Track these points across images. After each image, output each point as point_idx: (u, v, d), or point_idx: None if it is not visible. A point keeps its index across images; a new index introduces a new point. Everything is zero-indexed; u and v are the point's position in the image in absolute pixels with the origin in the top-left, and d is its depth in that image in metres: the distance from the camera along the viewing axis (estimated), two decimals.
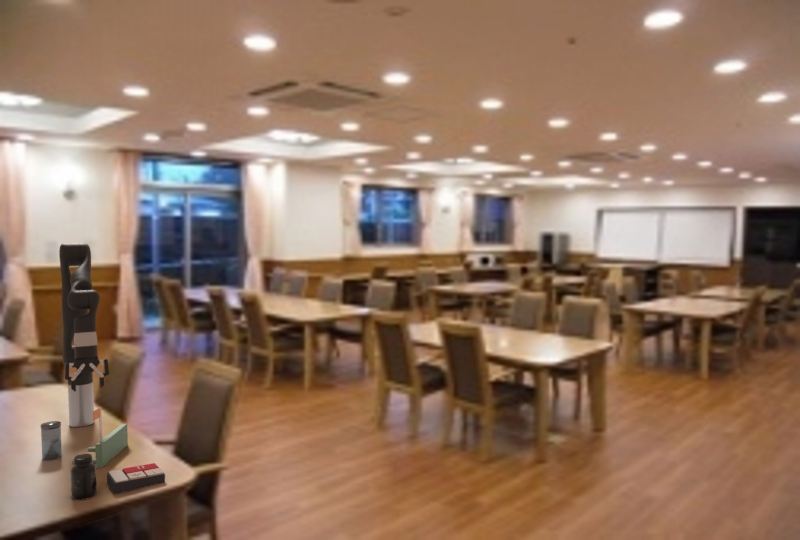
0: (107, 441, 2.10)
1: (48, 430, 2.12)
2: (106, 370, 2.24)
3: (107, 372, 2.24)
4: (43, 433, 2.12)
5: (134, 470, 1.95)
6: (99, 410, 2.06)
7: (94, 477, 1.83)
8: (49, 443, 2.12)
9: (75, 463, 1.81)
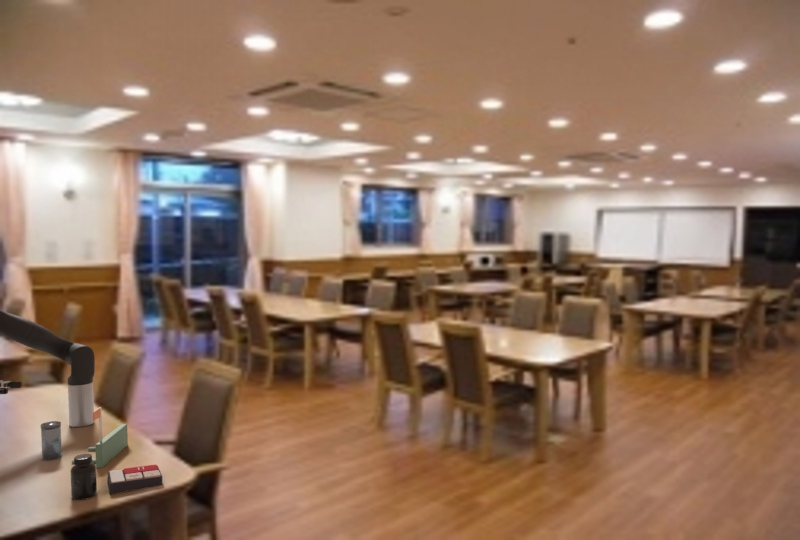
0: (107, 441, 2.10)
1: (48, 430, 2.12)
2: None
3: None
4: (43, 433, 2.12)
5: (133, 470, 1.94)
6: (99, 410, 2.06)
7: (94, 477, 1.83)
8: (49, 443, 2.12)
9: (75, 463, 1.81)
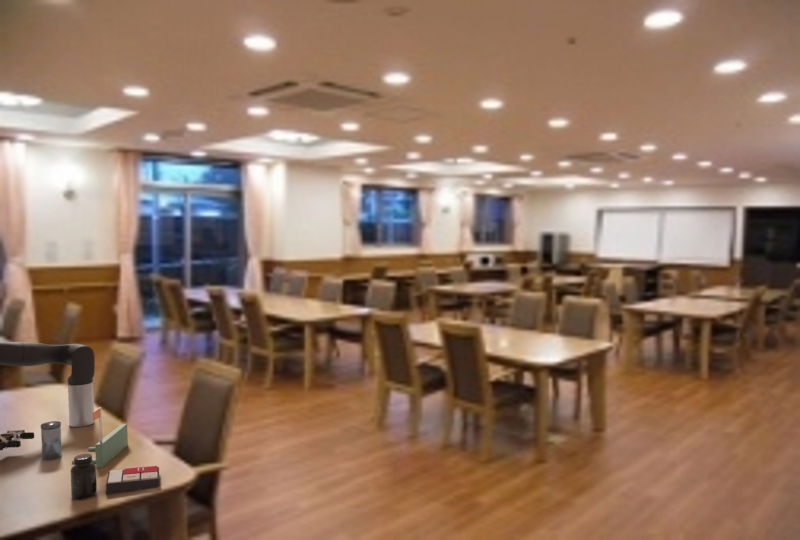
0: (107, 441, 2.10)
1: (48, 430, 2.12)
2: None
3: None
4: (43, 433, 2.12)
5: (133, 471, 1.93)
6: (99, 410, 2.06)
7: (94, 477, 1.83)
8: (49, 443, 2.12)
9: (75, 463, 1.81)
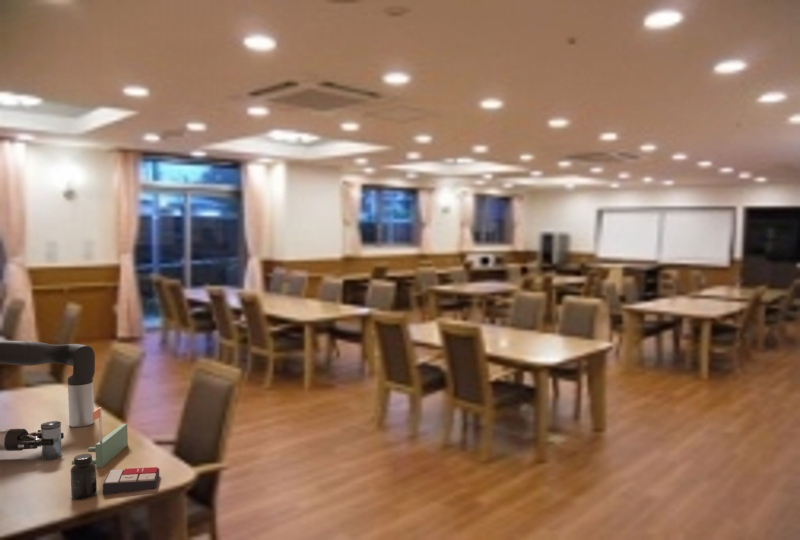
0: (107, 441, 2.10)
1: (48, 430, 2.12)
2: None
3: None
4: (43, 433, 2.12)
5: (132, 472, 1.93)
6: (99, 410, 2.06)
7: (94, 477, 1.83)
8: None
9: (75, 463, 1.81)
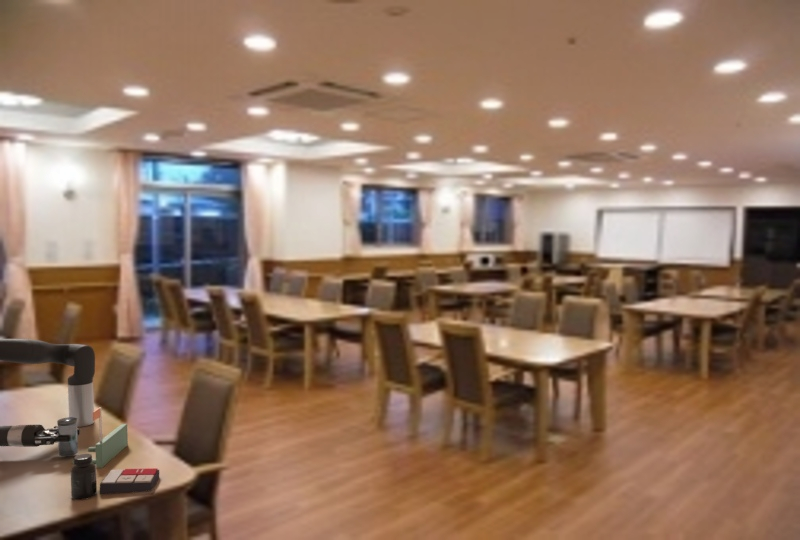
0: (107, 441, 2.10)
1: (65, 426, 2.12)
2: None
3: None
4: (60, 429, 2.12)
5: (131, 472, 1.92)
6: (99, 410, 2.06)
7: (94, 477, 1.83)
8: None
9: (75, 463, 1.81)
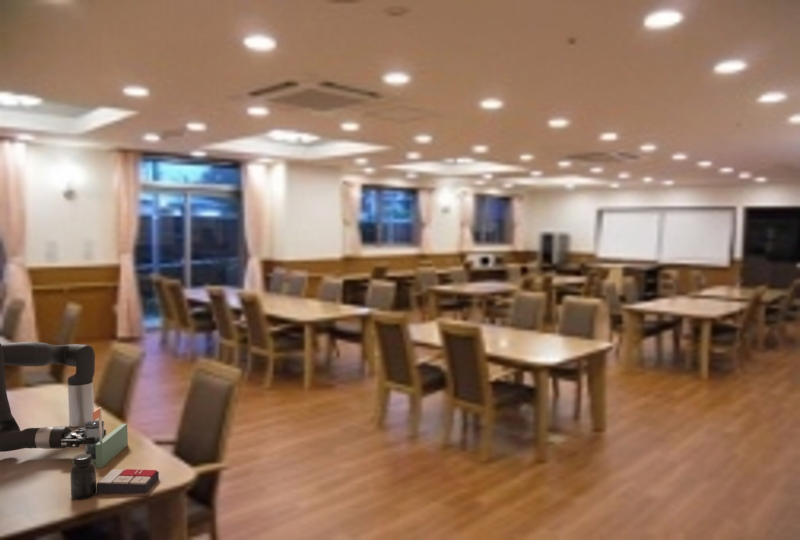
0: (107, 441, 2.10)
1: (92, 429, 2.13)
2: None
3: None
4: (87, 432, 2.13)
5: (130, 473, 1.92)
6: (99, 410, 2.06)
7: (94, 477, 1.83)
8: None
9: (75, 463, 1.81)
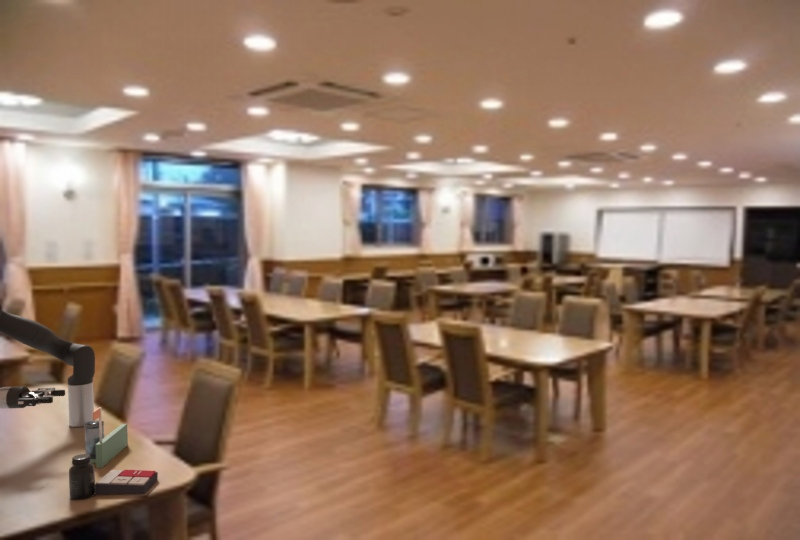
0: (107, 441, 2.10)
1: (92, 429, 2.13)
2: None
3: None
4: (87, 432, 2.13)
5: (129, 474, 1.91)
6: (99, 410, 2.06)
7: (92, 477, 1.83)
8: (93, 442, 2.13)
9: (73, 463, 1.81)
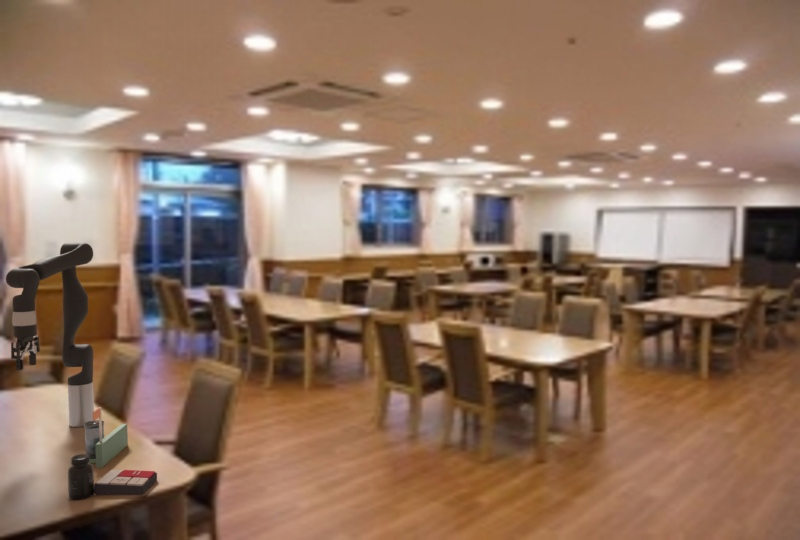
0: (107, 441, 2.10)
1: (92, 429, 2.13)
2: None
3: None
4: (87, 432, 2.13)
5: (128, 474, 1.91)
6: (99, 410, 2.06)
7: (91, 477, 1.83)
8: (93, 442, 2.13)
9: (72, 463, 1.81)
